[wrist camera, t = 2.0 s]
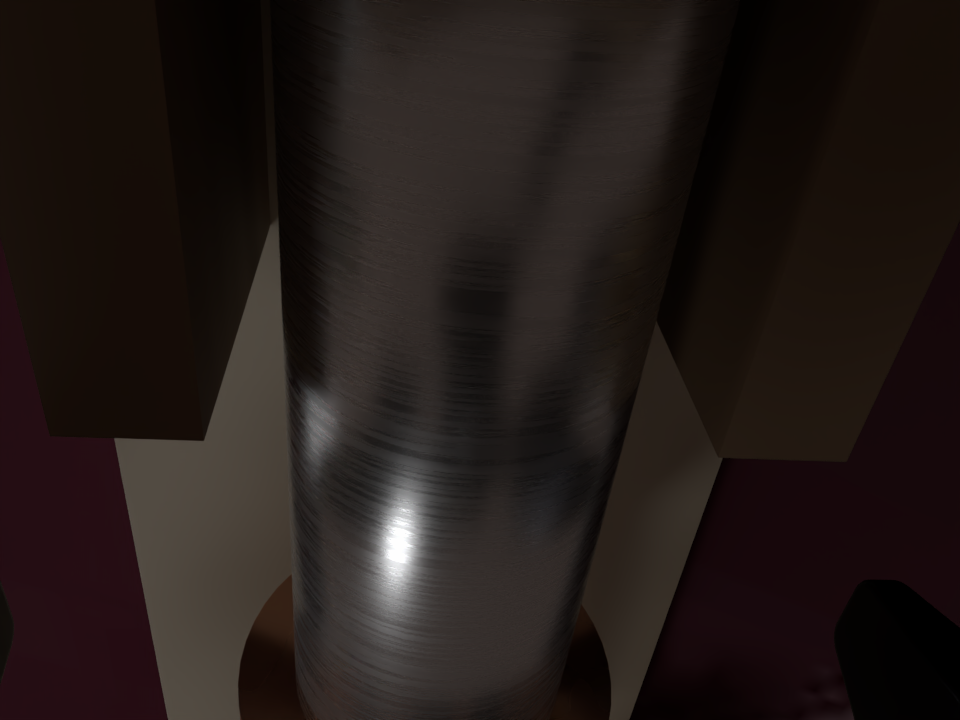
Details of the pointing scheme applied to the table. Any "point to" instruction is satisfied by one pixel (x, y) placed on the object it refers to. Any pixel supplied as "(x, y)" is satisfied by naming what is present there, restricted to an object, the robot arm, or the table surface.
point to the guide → (258, 308)
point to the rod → (465, 337)
